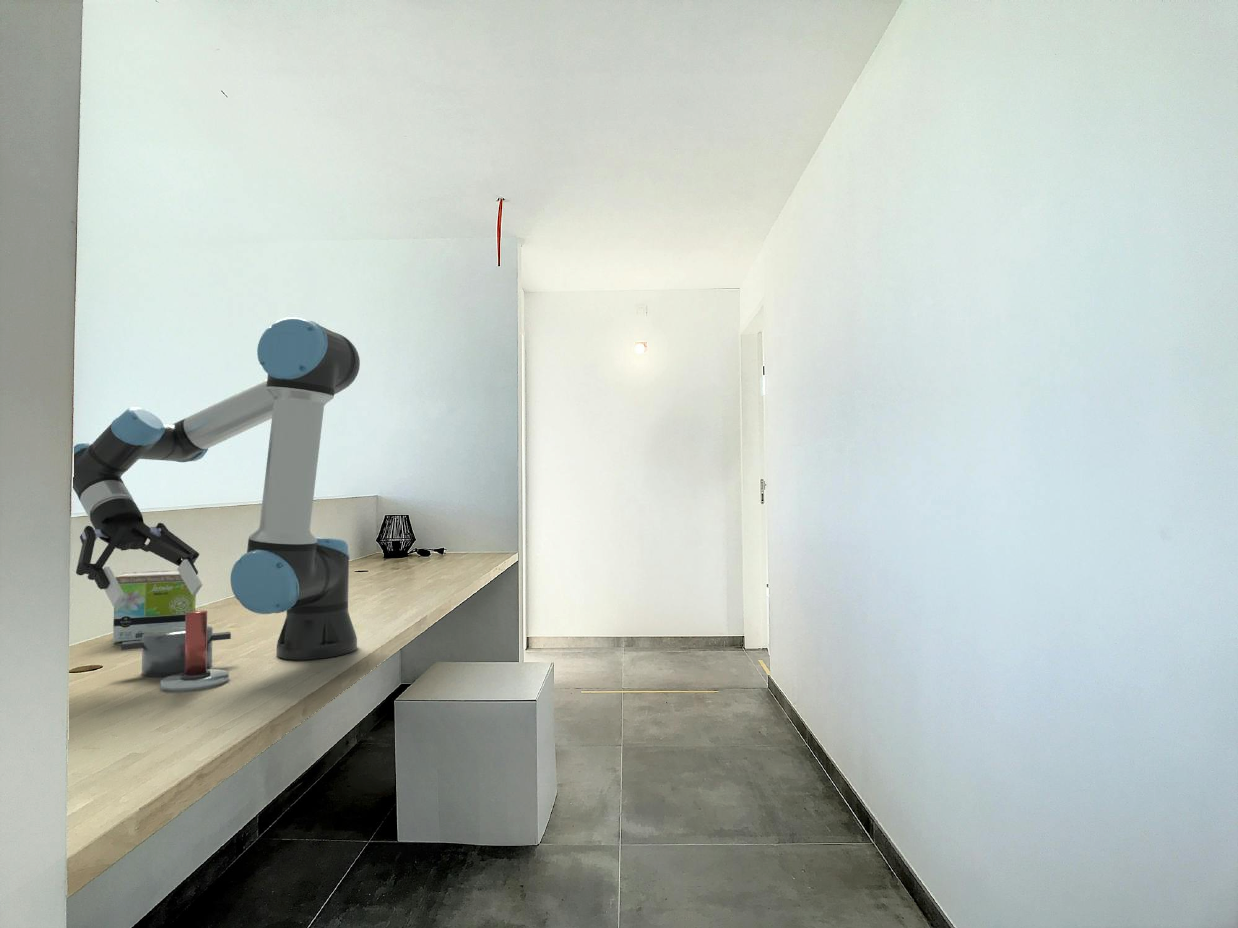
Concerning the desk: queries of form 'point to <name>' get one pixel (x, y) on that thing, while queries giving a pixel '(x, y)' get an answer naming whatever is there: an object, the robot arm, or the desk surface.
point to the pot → (168, 650)
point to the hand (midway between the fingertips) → (160, 595)
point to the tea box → (150, 603)
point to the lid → (195, 659)
